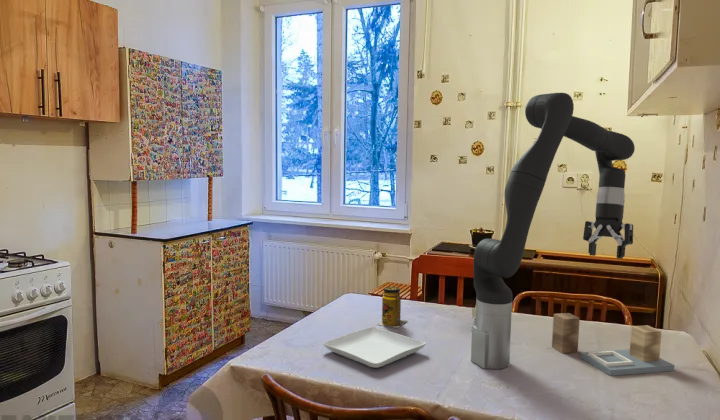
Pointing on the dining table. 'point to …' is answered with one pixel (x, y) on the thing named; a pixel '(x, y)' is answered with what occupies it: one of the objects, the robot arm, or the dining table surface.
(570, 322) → the walnut pillar
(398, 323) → the condiment
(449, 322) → the dining table surface
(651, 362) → the board
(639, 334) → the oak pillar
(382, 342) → the salad plate
